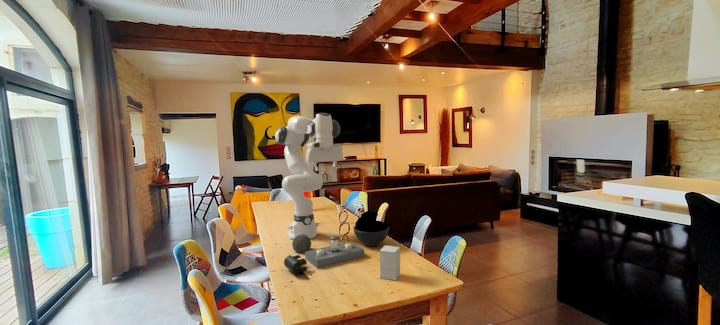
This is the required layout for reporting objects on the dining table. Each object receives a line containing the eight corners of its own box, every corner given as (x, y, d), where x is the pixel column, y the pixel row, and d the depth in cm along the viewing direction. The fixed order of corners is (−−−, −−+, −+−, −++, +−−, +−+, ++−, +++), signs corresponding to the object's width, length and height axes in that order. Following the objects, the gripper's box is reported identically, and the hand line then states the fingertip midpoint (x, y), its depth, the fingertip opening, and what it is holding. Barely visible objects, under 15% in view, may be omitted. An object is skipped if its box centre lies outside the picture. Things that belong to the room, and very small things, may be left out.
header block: (305, 261, 164) (305, 248, 163) (350, 250, 178) (350, 239, 177) (317, 271, 152) (316, 257, 152) (364, 259, 166) (364, 246, 165)
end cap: (284, 270, 154) (283, 256, 153) (298, 266, 158) (297, 253, 157) (292, 277, 145) (292, 263, 145) (307, 273, 150) (306, 259, 149)
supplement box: (400, 274, 148) (400, 246, 147) (395, 280, 141) (395, 252, 140) (385, 271, 151) (385, 244, 150) (379, 278, 144) (379, 250, 143)
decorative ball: (297, 249, 182) (296, 231, 181) (314, 250, 180) (313, 232, 179) (289, 255, 172) (288, 237, 171) (307, 256, 170) (307, 238, 169)
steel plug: (329, 257, 166) (328, 236, 165) (336, 255, 168) (336, 235, 167) (333, 260, 162) (332, 238, 161) (341, 258, 164) (340, 237, 163)
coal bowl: (381, 237, 200) (380, 207, 198) (394, 248, 181) (394, 214, 179) (349, 241, 194) (349, 210, 192) (360, 252, 175) (359, 218, 173)
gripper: (339, 143, 180) (339, 168, 181) (304, 144, 169) (305, 171, 170) (344, 143, 174) (345, 169, 175) (309, 144, 164) (309, 172, 165)
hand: (325, 170), depth 173 cm, fingers open, 8 cm apart
